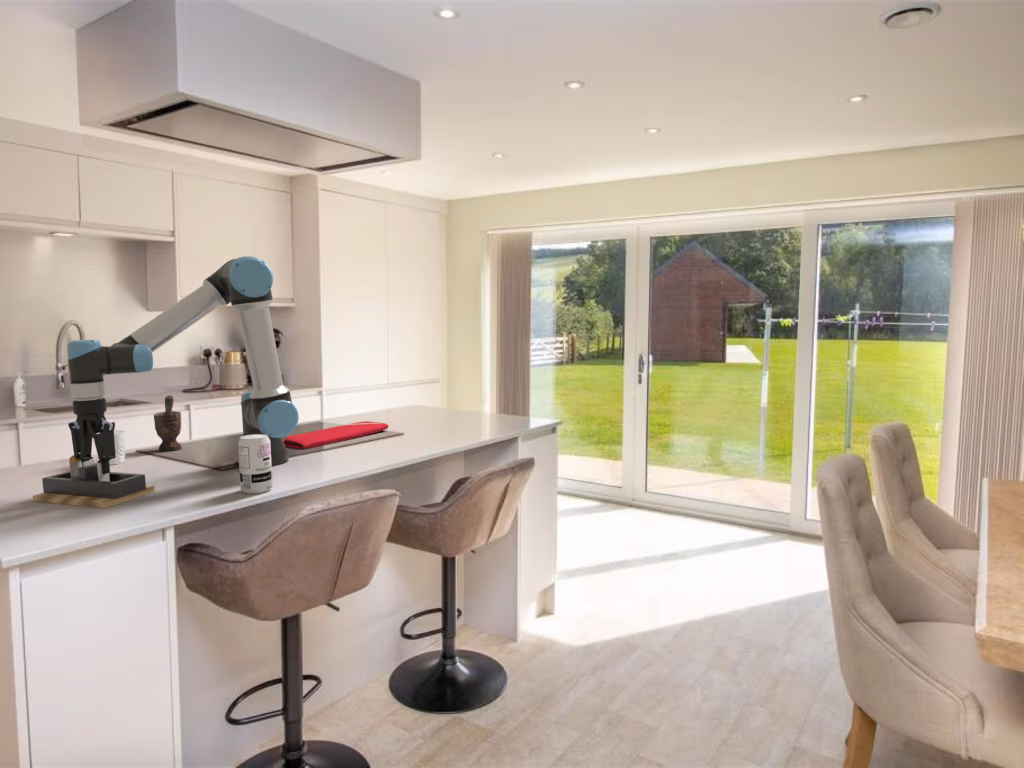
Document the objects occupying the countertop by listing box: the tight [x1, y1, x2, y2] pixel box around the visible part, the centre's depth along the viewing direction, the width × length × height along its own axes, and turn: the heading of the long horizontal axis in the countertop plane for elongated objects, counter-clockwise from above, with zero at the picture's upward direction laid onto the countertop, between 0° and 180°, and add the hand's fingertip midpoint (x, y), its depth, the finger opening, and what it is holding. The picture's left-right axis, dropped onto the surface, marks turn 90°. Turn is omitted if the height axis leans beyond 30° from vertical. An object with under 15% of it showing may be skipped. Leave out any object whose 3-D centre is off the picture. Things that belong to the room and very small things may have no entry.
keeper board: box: [32, 454, 156, 509], centre depth 186 cm, size 24×16×11 cm, turn 73°
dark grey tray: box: [41, 462, 147, 499], centre depth 185 cm, size 10×24×7 cm, turn 73°
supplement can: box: [237, 434, 274, 495], centre depth 189 cm, size 8×8×15 cm
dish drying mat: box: [283, 420, 389, 450], centre depth 264 cm, size 16×41×4 cm, turn 144°
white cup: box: [96, 430, 126, 466], centre depth 225 cm, size 8×8×10 cm
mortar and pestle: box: [153, 394, 182, 452], centre depth 244 cm, size 12×9×20 cm
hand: (97, 485), depth 185 cm, fingers open, 4 cm apart
